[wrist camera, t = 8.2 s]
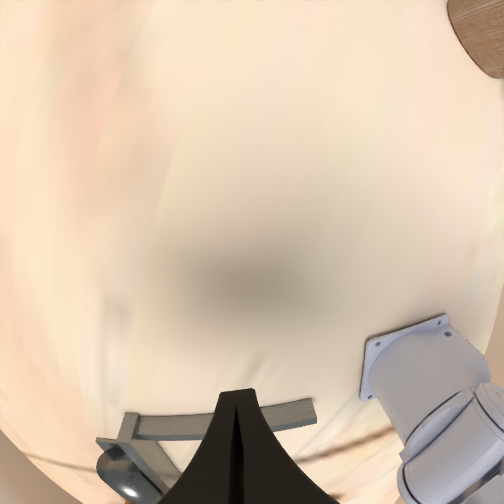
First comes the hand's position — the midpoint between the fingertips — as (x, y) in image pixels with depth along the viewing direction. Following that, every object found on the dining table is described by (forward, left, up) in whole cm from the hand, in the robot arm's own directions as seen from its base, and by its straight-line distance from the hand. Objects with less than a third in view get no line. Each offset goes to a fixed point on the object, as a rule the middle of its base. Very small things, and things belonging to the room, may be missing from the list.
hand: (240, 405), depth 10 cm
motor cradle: (+4, +24, -10) cm, 26 cm away
